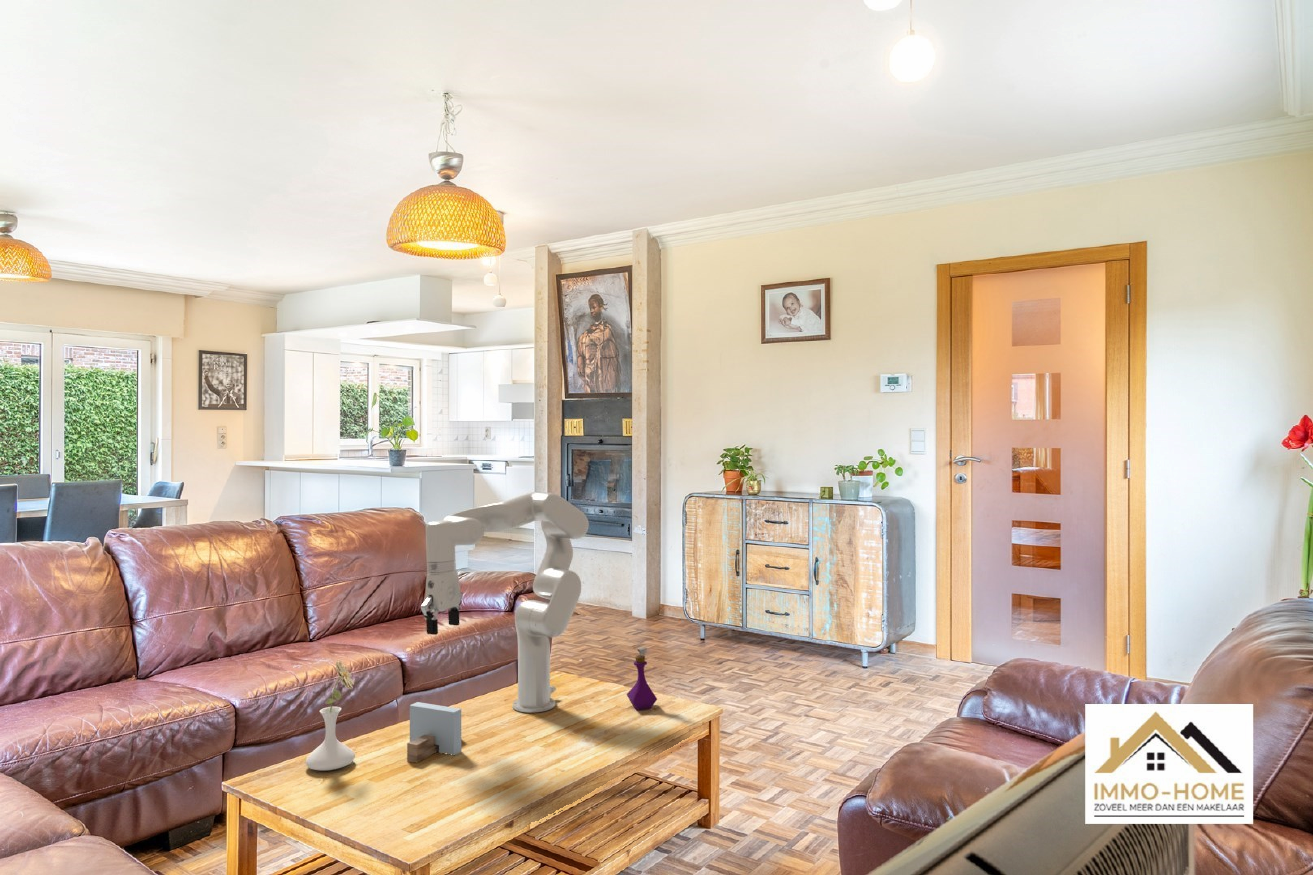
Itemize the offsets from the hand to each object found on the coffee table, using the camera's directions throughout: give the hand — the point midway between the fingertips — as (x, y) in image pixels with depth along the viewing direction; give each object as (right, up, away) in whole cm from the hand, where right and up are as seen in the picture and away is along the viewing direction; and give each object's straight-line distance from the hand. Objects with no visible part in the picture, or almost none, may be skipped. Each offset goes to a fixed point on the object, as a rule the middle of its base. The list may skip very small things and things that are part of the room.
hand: (443, 629), depth 227 cm
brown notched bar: (+1, -29, -11) cm, 31 cm away
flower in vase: (-22, -29, -21) cm, 42 cm away
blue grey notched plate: (+1, -29, -11) cm, 30 cm away
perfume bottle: (+53, -29, +23) cm, 65 cm away
